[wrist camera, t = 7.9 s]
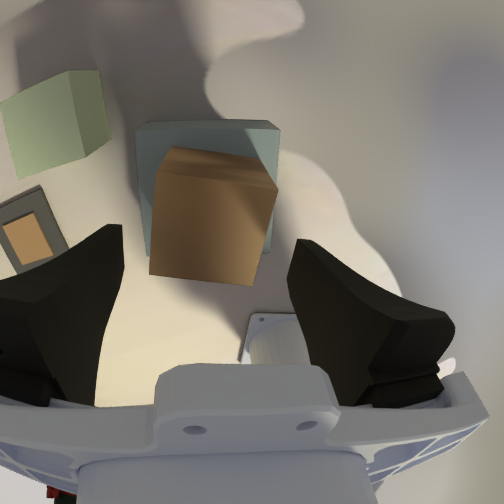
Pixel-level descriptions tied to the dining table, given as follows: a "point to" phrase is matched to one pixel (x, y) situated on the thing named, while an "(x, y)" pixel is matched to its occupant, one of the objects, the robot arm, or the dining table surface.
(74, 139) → the sage cube
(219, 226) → the walnut cube
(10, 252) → the card
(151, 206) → the slate plinth
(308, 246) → the robot arm
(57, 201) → the dining table surface
